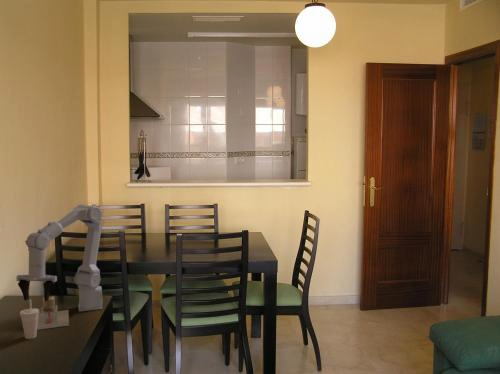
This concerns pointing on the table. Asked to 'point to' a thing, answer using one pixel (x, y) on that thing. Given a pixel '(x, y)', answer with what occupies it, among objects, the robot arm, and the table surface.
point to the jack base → (52, 318)
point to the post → (49, 304)
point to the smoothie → (30, 321)
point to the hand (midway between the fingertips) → (36, 300)
